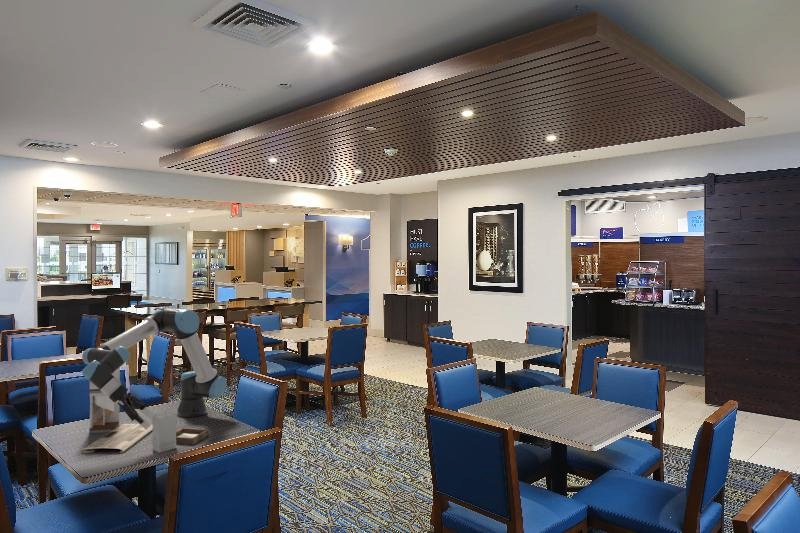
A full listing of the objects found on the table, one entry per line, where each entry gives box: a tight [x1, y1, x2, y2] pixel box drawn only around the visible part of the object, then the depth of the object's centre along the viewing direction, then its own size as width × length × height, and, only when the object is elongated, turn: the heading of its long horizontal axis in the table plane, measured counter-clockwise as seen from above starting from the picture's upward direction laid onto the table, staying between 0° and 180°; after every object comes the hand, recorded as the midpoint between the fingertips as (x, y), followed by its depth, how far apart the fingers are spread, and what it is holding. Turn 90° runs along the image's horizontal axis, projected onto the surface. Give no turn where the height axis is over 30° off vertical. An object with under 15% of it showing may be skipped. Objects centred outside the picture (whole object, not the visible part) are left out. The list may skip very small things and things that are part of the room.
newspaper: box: [81, 422, 153, 454], centre depth 260 cm, size 37×19×3 cm, turn 3°
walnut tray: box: [176, 427, 209, 446], centre depth 261 cm, size 14×14×3 cm
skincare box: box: [151, 411, 177, 454], centre depth 247 cm, size 8×7×16 cm
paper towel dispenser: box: [88, 367, 121, 434], centre depth 275 cm, size 11×11×35 cm
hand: (151, 422), depth 245 cm, fingers open, 13 cm apart
